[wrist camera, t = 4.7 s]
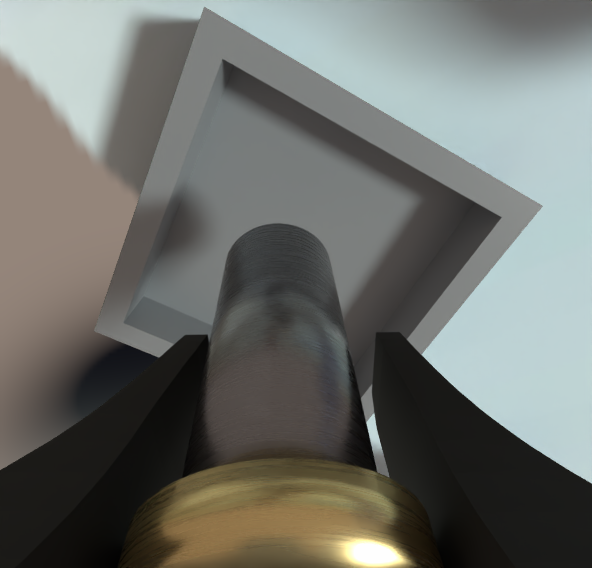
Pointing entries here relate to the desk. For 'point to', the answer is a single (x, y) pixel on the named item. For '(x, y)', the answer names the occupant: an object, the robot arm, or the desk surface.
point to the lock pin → (280, 435)
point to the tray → (302, 203)
